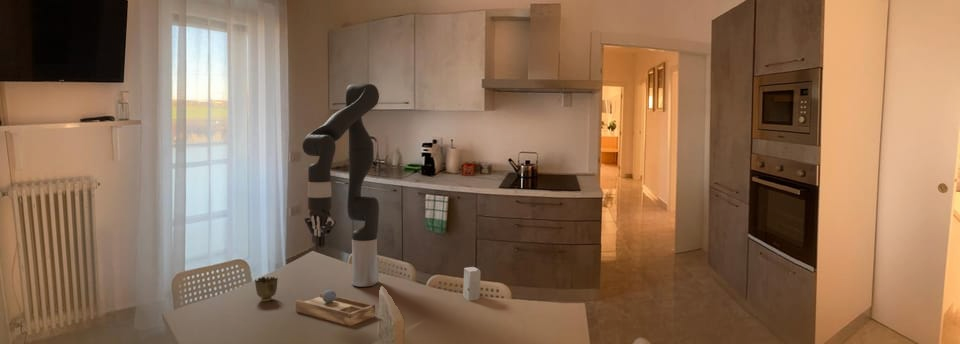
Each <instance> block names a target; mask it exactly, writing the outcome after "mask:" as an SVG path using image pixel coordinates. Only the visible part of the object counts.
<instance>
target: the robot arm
mask: <svg viewBox="0 0 960 344" xmlns="http://www.w3.org/2000/svg"><path fill="white" fill-rule="evenodd" d="M379 98H380V93H379V90H378V88H377V86H376V85H374V84H372V83H353V84H349V85H348V86H347V88H346V90H345V106H346V107H344V108H342V109H340V110H338V111H336V112H335V113H333V114H332V115H331V116H330V117H329V118H327V120H325V121H326V122H325V123H324V124H322V125H321V126H319V127H318V128H316V129H314V130H312V131H311V132H310V133H308V134H307V135H306V136H305V137H304V139H303V142H302V144H301V145H302V151H303V152H304V154H306V155H307V156H310V157H319V158H318V161H317V162H316V163H315V162H314V163H312V164H309V166H308V170H307V172H308V176H307V177H308V178H307V180H308V185H307V209H308V211H309V215H308V217H305V218H304V222H305V224H306V226H307V229H309V230H308V231H309V232H310V234H313V235H314V236H315V247H316V248H319V249H321V248H324V247H325V245H326V236H328V235H330V234H331V232H332V230H333V228H334V227H335V225H336V223H337V222H336V220H333V219H332V217H331V213H330V212H331V211H330V210H332V208H333V207H332V205H333V204H332V199H333V198H332V183H331V182H332V181H331V169H332V164H333V161H334V157H335V153H336V149H337V147H336V146H337V145H336V142H337V141H338V140H340V138H342V136H343V135H344V134H345V133H346V132H347V130H348V193H347V204H346V205H347V206H346V207H347V209H346V210H347V216H348V217H349V219H350V220H351V221H355V222H364V226H363V227H362V228H360V229H356V230H353V232H352V234H351V252H352V253H351V278H352V279H351V284H352V285H353V286H355V287H361V288H362V287H373V286H375V285H376V284H377V283H379V282H380V281H379V279H380V278H379V277H380V276H379V275H380V273H379V265H380V264H379V263H380V260H379V257H378V231H379V219H380V218H379V217H380V216H379V215H380V204H379V201H378V199H377V197H374V196H362V194H361V193H362V186H363V182H364V180H365V178H366V176H367V175H368V174H369V172H370V170H371V168H372V166H373V164H374V159H375V156H374V155H375V154H374V153H375V152H374V151H375V150H374V142H373V140H372V138H371V136H370V134H369V132H368V131H367V129H366V127H365V125H364V122H363V118H362V117H364V115H366V114H367V113H369V112H370V111H371V110H372V109H374V108H375V107H376V106H377V105H378V102H379Z"/></svg>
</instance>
